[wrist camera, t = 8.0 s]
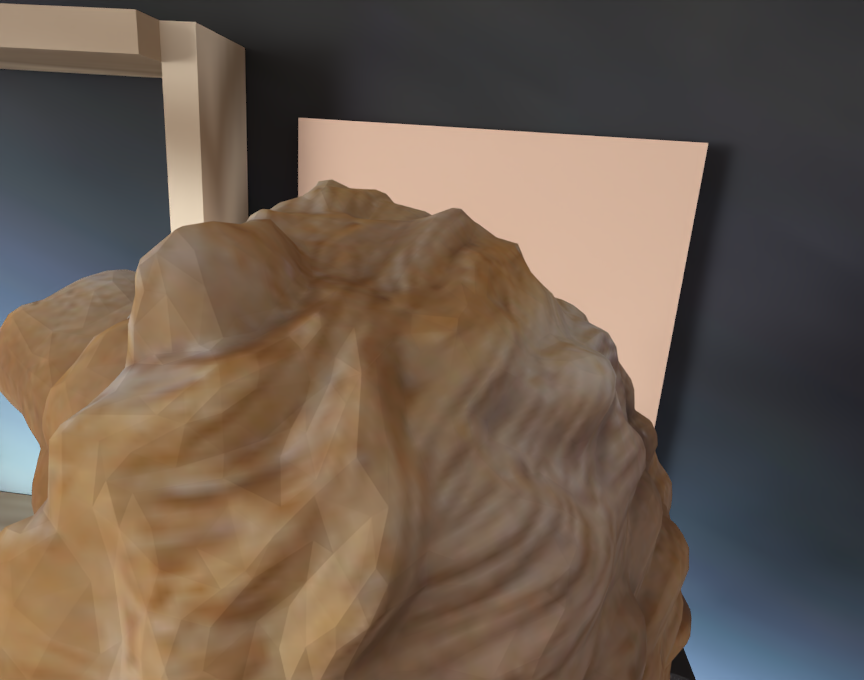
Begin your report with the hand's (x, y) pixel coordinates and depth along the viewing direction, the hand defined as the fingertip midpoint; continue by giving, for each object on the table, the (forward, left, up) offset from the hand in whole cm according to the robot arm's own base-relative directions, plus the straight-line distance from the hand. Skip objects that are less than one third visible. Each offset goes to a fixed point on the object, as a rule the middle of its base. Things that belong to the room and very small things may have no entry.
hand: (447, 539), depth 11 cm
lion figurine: (0, 0, -1) cm, 1 cm away
